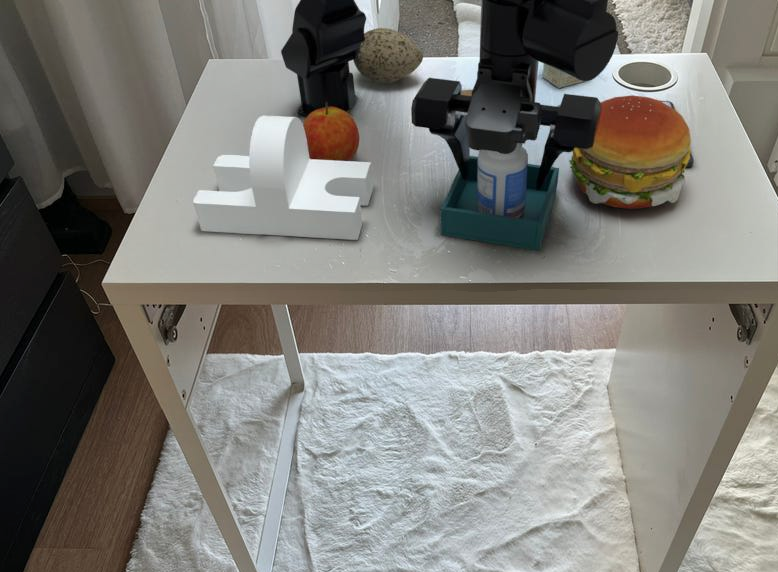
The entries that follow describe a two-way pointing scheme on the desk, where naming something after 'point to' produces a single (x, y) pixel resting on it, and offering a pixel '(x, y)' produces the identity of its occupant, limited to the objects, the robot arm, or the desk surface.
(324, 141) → the fruit
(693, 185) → the desk surface
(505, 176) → the pill bottle
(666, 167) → the burger
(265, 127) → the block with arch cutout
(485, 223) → the bin
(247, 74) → the desk surface
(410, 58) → the decorative egg
